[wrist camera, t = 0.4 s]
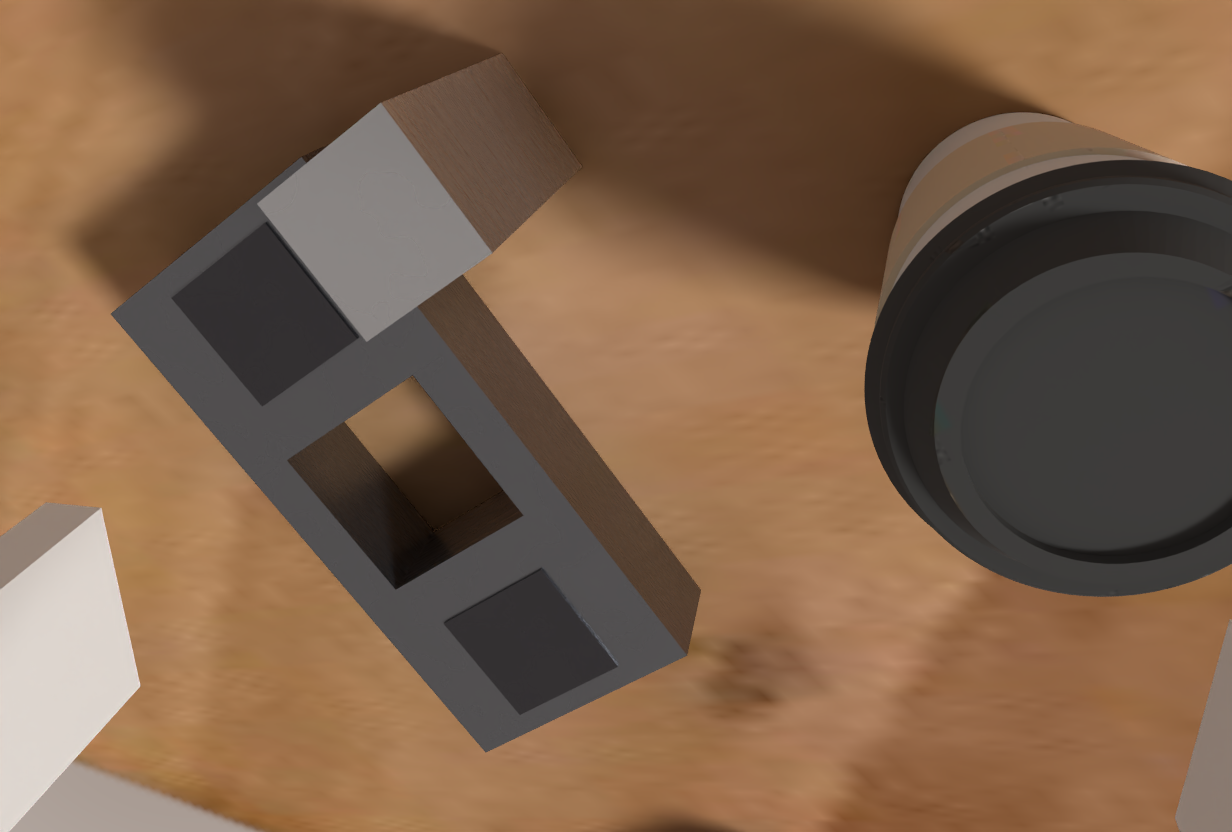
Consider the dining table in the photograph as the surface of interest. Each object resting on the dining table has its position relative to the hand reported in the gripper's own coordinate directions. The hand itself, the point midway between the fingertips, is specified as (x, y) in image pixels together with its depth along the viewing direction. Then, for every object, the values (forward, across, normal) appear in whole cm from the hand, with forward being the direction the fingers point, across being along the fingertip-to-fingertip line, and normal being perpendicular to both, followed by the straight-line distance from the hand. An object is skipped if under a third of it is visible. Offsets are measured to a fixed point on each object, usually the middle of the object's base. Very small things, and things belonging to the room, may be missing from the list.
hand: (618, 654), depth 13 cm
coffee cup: (+24, +8, -1) cm, 25 cm away
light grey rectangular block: (+24, -8, +1) cm, 25 cm away
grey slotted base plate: (+24, -11, -9) cm, 28 cm away
